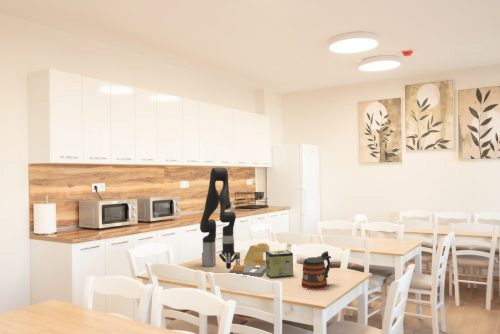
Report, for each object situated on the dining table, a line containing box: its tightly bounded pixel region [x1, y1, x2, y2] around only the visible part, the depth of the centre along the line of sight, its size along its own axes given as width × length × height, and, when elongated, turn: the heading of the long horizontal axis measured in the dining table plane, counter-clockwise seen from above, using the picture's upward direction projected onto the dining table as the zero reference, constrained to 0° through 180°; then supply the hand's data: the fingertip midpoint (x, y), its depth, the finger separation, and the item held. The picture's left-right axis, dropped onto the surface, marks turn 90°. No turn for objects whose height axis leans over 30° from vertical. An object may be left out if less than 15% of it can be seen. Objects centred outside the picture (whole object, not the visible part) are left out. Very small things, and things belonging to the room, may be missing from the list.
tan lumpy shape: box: [243, 242, 270, 266], centre depth 302 cm, size 20×9×16 cm, turn 41°
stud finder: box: [232, 264, 245, 271], centre depth 275 cm, size 6×4×3 cm, turn 75°
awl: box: [234, 251, 241, 265], centre depth 284 cm, size 3×3×10 cm
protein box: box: [265, 249, 294, 279], centre depth 271 cm, size 10×16×16 cm
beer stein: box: [301, 250, 332, 290], centre depth 244 cm, size 19×15×20 cm
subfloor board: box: [228, 264, 266, 278], centre depth 280 cm, size 21×19×3 cm
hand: (228, 268), depth 277 cm, fingers closed
